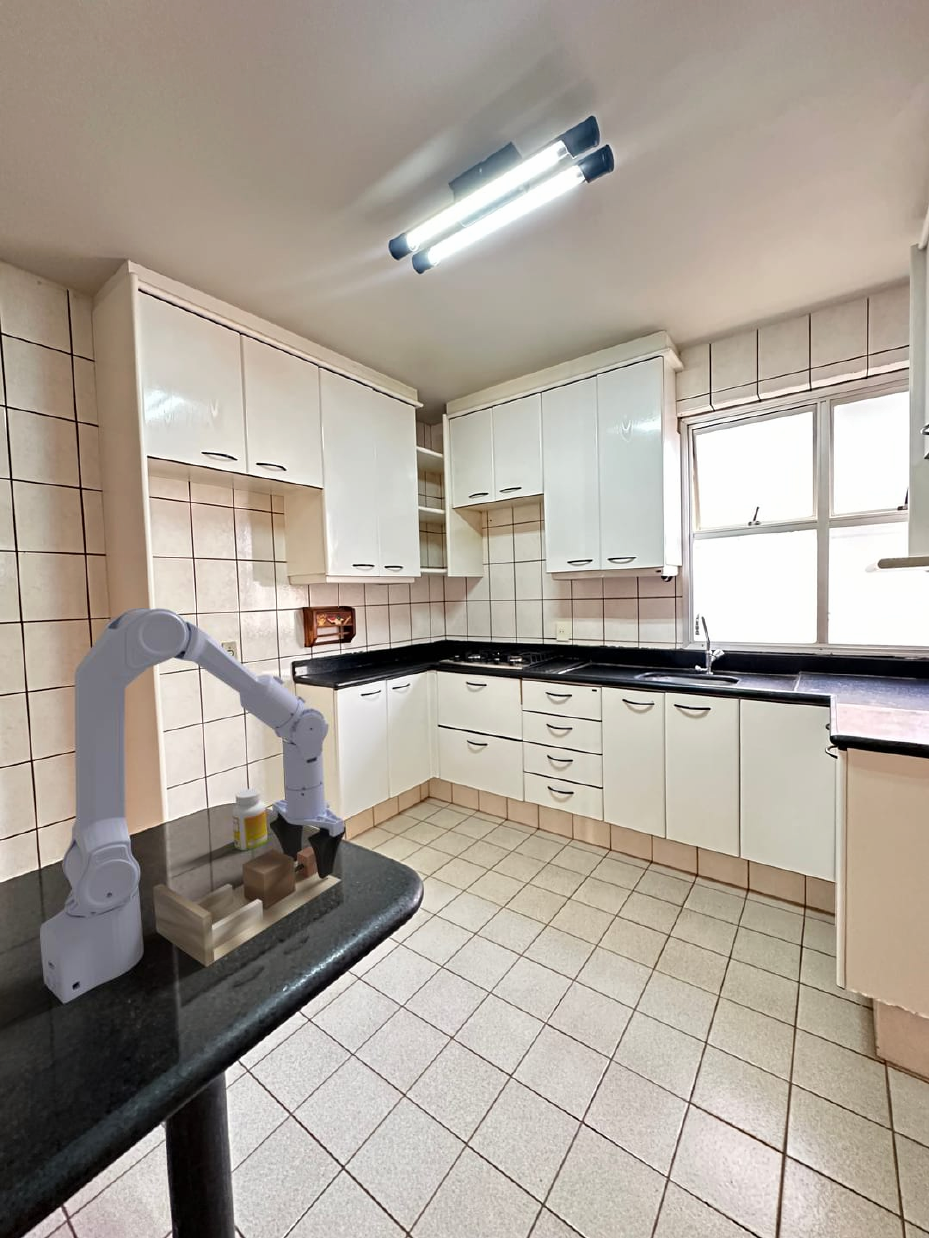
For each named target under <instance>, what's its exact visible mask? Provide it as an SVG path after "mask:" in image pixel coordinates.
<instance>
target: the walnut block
mask: <svg viewBox="0 0 929 1238" xmlns="http://www.w3.org/2000/svg"><path fill="white" fill-rule="evenodd" d="M297 863H298V866H297V867H295V868H294V858H293V857H290V856H288V855H286V854H284V852H281V851H278V850H276V849H274V848H272V849H269V850H267V851H265V852H263V853H262V854H260V855H258V856H255V857H254V858H252V859H250V860H249V861H246V862H244V863H242V864H241V865H242V875H243V877H242V878H243V880H242V881H243V884H244V896H245V898H246V899H248V900H250V901H252V902H253V901H255V900H257V899H259V900H261V901H262V907H263V908H265V909H267V908H268V907H270V906H272V905H273V904H275V903H277V902H278V901H280V900H281V899H283V898H285V897H286V896H288V895H290V894H291V893H293V892H295V891H296V887H295V873H296V872H297V871H298V873H299V874H302V875H304V876H306V877H310V876H311V875H313V874H315V873H316V872H317V864H316V858H315V854H314V851H313V848H312V846H307V847H306V848H304V849H301V851H300V852H298V853H297Z"/></svg>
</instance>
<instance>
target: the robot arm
mask: <svg viewBox="0 0 929 1238" xmlns="http://www.w3.org/2000/svg"><path fill="white" fill-rule="evenodd" d="M171 659H178V660H180V661H186V662H193V663H195V664H196V665H198V666H199V667H201V668H202V669H203V670H205V671H206V672H208V673H210V675H212V676H214V677H215V678H216V679H218V680H219V681H221V682H222V683H224V684H225V685H227V686H228V687H230V688H231V689H233V690H235V692H237V693H239V702H240V706H241V708H242V709H244V710H245V711H247V712H248V713H250V714H251V715H252V716H253V717H255V718H256V719H258V720H260V722H262V723H263V724H265V725H266V726H267V727H269V728H270V729H271V730H273V731H274V734H275V735H276V737H277V738H281V739H283V740H282V752H283V754H282V755H283V756H282V757H283V758H282V759H283V768H284V785H285V786H284V787H285V790H284V791H285V799H280V800H277V801H275V802H273V803H272V804H271V805H272V807H271V808H272V816H275V817H276V819H274V820H273V821H271V822H270V823H269V827H270V828H269V829H270V830H272V832H273V833H274V834H275V836H276V838H277V840H278V842H279V844H280V846H281V849H282V853H283V854H286V855H288V856H290V857H293V858H294V862H296V861H297V853H298V852H300V851H302V845H303V844H302V841H303V840H302V838H303V837H302V835H303V830H304V829H303V828H304V826H308V827H314V828H316V829H319V830H318V831H317V832H316V833H314V834H312V835H309V836H308V837H307V841H308V842H309V844H310V845H311V846H310V847H312V848H313V851H314V854H315V858H316V864H317V872H318V875H319V878H321V879H323V878H325V877H327V876H328V875H330V876H331V874H333V871H334V864H335V860H336V856H337V853H338V850H339V846H340V844H341V842H342V839H343V837H344V836H345V834H346V827H345V826H344V819H343V818H341V817H339V816H337V815H336V814H335V813H334V811H332V810H331V809H329V808H330V802H328V801H326V800H325V799H326V798H325V797H326V796H325V781H324V779H325V778H324V764H323V763H324V762H323V761H324V759H323V751H324V749H323V743H324V740H325V738H326V737H327V735H328V732H329V726H330V725H329V723H326V720H325V717H324V715H323V713H321V711H319V710H317V709H314V708H310V707H307V706H306V704H305V703H306V701H307V700H306V699H305V698H304V697H303V696H299V695H298V696H296V695H295V694H294V693H292V691H290V689H289V690H288V689H287V688H286V687H285V686H284V683H285V681H284V680H283V679H282V678H281V677H279V676H275V675H274V676H271V675H269V674H264V675H263V674H262V675H256V674H254V673H253V672H252V671H251V670H250V669H249V668H248V667H246V666H245V665H244V664H243V663H241V661H239V659H237V658H236V657H235V656H233V655H232V654H231V653H230V652H229V651H227V650H226V649H225V648H224V647H223V646H222V645H220V644H219V643H218V642H217V641H216V640H214V639H213V638H212V637H211V636H210V635H209V634H208V633H206V632H205V631H203V629H201V628H199V626H197V625H195V624H194V623H191V622H189V621H185V619H184V618H183V617H182V616H181V615H180V614H178V613H177V612H175V611H173V610H171V609H168V608H160V607H159V608H158V607H157V608H153V609H151V608H146V607H135V608H132V609H131V608H130V609H129V610H127V611H125V612H123V613H122V614H120V615H118V616H117V617H116V618H113V619H112V620H111V621H109V622H108V623H106V624H105V626H104V629H103V630H102V632H101V634H100V636H99V637H98V638H97V639H96V641H95V642H94V643H93V645H92V646H91V648H90V649H89V651H88V652H86V654H85V656H83V658H82V660H81V661H80V663H79V664H78V665H77V667H76V669H75V672H74V747H75V749H74V753H75V755H74V756H75V757H74V758H75V759H74V760H75V762H74V764H75V765H74V767H75V768H74V769H75V771H74V772H75V776H74V777H75V821H74V823H73V825H72V827H71V840H70V845H69V846H68V847H67V850H66V851H65V853H64V856H63V858H62V863H61V864H62V870H63V873H64V875H65V877H66V878H67V879H68V881H69V884H70V887H71V888H72V889H71V890H70V893H69V894H68V896H67V898H66V899H67V900H65V902H64V908H63V909H62V910H61V911H59V913H58V914H56V915H55V916H53V917H52V918H50V919H48V920H46V921H45V922H43V923H42V924H41V925H40V929H39V941H40V952H41V953H40V954H41V963H42V964H41V965H42V974H43V982H44V984H45V985H46V986H47V988H48V989H49V990H50V991H51V992H53V994H54V995H55V996H56V997H57V998H58V999H59V1000H60V1002H62V1004H64V1005H65V1004H66V1003H69V1002H70V1001H72V1000H74V999H76V998H77V997H79V996H81V995H83V994H85V993H87V992H88V991H90V990H92V989H94V988H96V987H97V986H99V985H102V984H105V983H107V982H109V981H111V980H114V979H116V978H117V977H120V976H121V975H123V974H125V973H126V972H128V971H130V970H131V969H132V968H133V967H134V966H136V965H137V964H138V963H139V962H140V960H141V958H142V957H143V955H144V951H145V950H144V949H145V948H144V940H143V928H142V926H143V925H142V915H141V913H142V912H141V902H140V901H141V900H140V891H139V890H140V889H139V888H140V887H139V883H140V878H141V868H140V867H141V866H140V865H139V862H138V861H137V860H136V858H135V856H133V854H132V847H131V843H132V841H131V837H130V836H131V835H130V832H129V827H128V823H127V818H126V717H125V716H126V715H125V714H126V713H125V712H126V711H125V710H126V709H125V708H126V706H125V704H126V703H125V702H126V701H125V700H126V699H125V695H126V694H125V692H126V691H125V689H126V687H127V686H128V685H129V684H131V683H132V682H133V681H134V680H135V679H137V678H138V677H139V676H140V675H142V674H143V673H144V672H146V671H147V670H148V669H149V668H153V667H155V666H157V665H160V664H162V663H165V662H168V660H171ZM75 984H77V985H76V986H74V985H75ZM73 986H74V987H73Z"/></svg>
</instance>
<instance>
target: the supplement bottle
mask: <svg viewBox="0 0 929 1238" xmlns="http://www.w3.org/2000/svg"><path fill="white" fill-rule="evenodd" d="M235 803H236V805H235V806H234V807H233V809H232V827H233V843H234V844H233V845H234V848H235V849H236V850H239V851H240V850H241V851H247V850H248V851H249V850H253V849H256V848H259V847H261V846H263V845H264V844H266V843H267V842H268V830H267V829H268V827H267V814H266V813H267V812H266V804H265V803H264V801H262V800H261V790H259V789H257V788H250V789H249V788H248V789H243V790H240V791H238V792H237V793H236V794H235Z"/></svg>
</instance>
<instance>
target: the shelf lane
mask: <svg viewBox="0 0 929 1238" xmlns="http://www.w3.org/2000/svg"><path fill="white" fill-rule="evenodd" d="M297 866H298V863H297V861H296V862H294V868H295V867H297ZM340 881H342V879H339V878H338V877H336V876H333V875H331V874H330V875H328V876H327V877H325V878H323V879H321V878H319V875H318V872H316V873H315V874H313V875H311V876H310V877H306V876H304V875H302V874H299V873H298V871H297V872H296V873H295V887H296V891H295V892H293V893H291V894H290V895H288V896H286V897H285V898H283V899H281V900H280V901H278V902H277V903H275V904H273V905H272V906H270V907H268V908H267V909H265V908H263V907H262V901H261V900H259V899H257V900H255V901H253V902H252V901H250V900H248V899H246V898H245V896H244V883H243V884H241V885H240V886H237V887H235V888H234V889H233V885H232V884H230V883H227V884H225V885H223V886H221V887H219V888H217V889H215V890H213V891H212V892H209V893H208V894H206V895H204V896H201V897H200V898H198V899H196V900H195V901H191V900H190V899H188V898H186V897H185V896H184V895H181V894H180V893H178V892H176V891H175V890H173V889H171V888H170V887H168V886H166V885H164V884H163V883H159V884H157V885H155V886H153V890H152V891H153V901H154V911H155V914H154V915H155V924H156V926H155V927H156V933H158V934H160V935H161V936H162V937H164V938H165V939H167V940H168V941H169V942H171V943H172V944H174V945H175V946H177V947H178V948H179V949H181V950H182V951H183V952H185V953H186V954H188V955H189V956H191V958H193V959H195V960H196V961H198V962H199V963H200V964H202V965H203V966H204V967H209V966H210V965H212V964H213V963H215V962H216V961H218V960H219V959H221V958H223V957H224V956H226V955H227V954H228V953H230V952H232V951H233V950H235V949H236V948H238V947H240V946H241V945H243V944H244V943H247V942H248V941H249V940H251V939H252V938H253V937H255V936H257V935H258V934H260V933H262V932H263V931H264V930H266V929H267V928H269V927H271V926H273V925H274V924H275V923H277V922H279V921H280V920H282V919H284V918H285V917H286V916H287V915H289V914H291V913H292V912H294V911H296V910H297V909H299V908H300V907H302V906H303V905H305V904H307V903H308V902H309V901H311V900H313V899H315V897H317V896H319V895H320V894H323V892H325V891H327V890H328V889H330V888H331V887H333V886H334V885H336V884H337V883H339V882H340Z"/></svg>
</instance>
